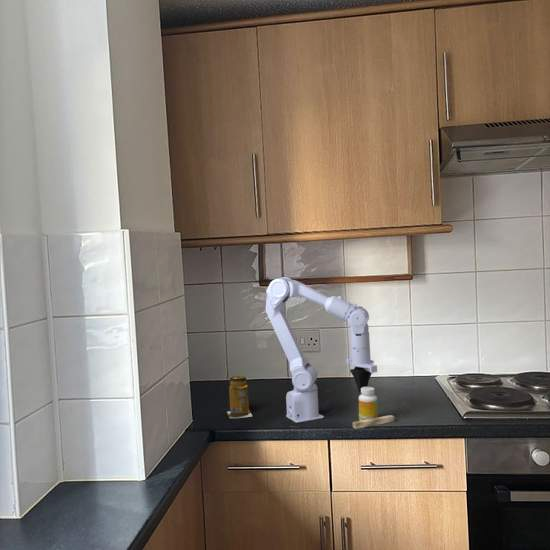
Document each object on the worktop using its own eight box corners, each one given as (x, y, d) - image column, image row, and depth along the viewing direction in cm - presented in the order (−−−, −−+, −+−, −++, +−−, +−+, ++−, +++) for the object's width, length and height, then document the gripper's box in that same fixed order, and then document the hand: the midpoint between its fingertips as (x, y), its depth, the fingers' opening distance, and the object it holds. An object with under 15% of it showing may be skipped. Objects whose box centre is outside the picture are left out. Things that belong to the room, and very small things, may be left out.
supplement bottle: (377, 423, 167) (376, 391, 166) (358, 423, 168) (358, 390, 167) (377, 417, 172) (377, 386, 171) (359, 416, 173) (359, 385, 173)
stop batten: (356, 428, 163) (355, 423, 163) (352, 427, 165) (352, 422, 165) (394, 421, 168) (394, 416, 168) (391, 419, 170) (390, 414, 170)
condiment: (248, 409, 189) (246, 374, 189) (252, 416, 181) (250, 379, 181) (227, 412, 188) (224, 376, 188) (229, 419, 180) (227, 381, 179)
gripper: (385, 349, 167) (387, 395, 167) (359, 343, 180) (361, 385, 181) (364, 352, 164) (366, 398, 165) (339, 345, 177) (341, 388, 178)
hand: (362, 392), depth 172 cm, fingers closed, pressing on supplement bottle
